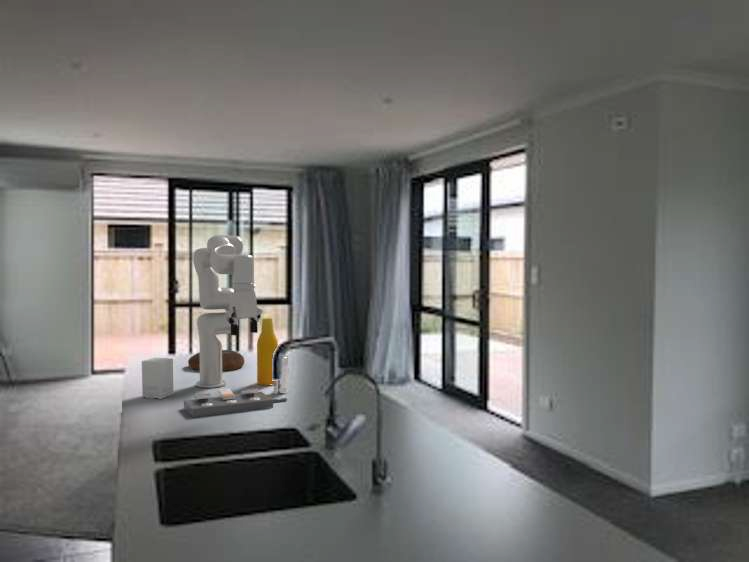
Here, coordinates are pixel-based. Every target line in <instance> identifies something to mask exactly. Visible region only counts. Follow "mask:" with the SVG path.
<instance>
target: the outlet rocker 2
mask: <svg viewBox="0 0 749 562" xmlns="http://www.w3.org/2000/svg"><path fill="white" fill-rule="evenodd" d="M255 392H259V390H258V388H257V387H256V388H249V389H248V388H247V389H244V390H241V391H240V393H241V394H246V393H255Z"/></svg>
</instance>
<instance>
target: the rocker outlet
mask: <svg viewBox="0 0 749 562" xmlns="http://www.w3.org/2000/svg"><path fill="white" fill-rule="evenodd" d="M211 397H212V394H211V393H203V394H197V395H195V396H194V399H202V398H211Z"/></svg>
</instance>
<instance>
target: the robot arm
mask: <svg viewBox="0 0 749 562" xmlns="http://www.w3.org/2000/svg"><path fill="white" fill-rule="evenodd" d="M243 243H244V242H243V241H242V239H241V237H240V236H238V235H224V234H223V235H217V234H216V235H213V236H211V237H209V239H208V240H207V243H206V247H201V248H200V247H199V248H197V249H195V250H194V252H193V255H192V256H193V257H192V260H193V267H194V269H195V272H196V274H197V275H196V276H197V278H198V280H197V281H198V293H199V294H198V296H199V306H200V307H201V309H203V310H206V311H208V310H209V311H211V310H214V311H215V310H216V311H217V310H225V311H224V312H206V313H202V314H200V315H199V316H198V317H197V320H196V326H197V331H198V339H199V340H198V343H199V352H200V371H199V380H198V381H197V382H195V383H196V384H195V385H196V387H198V388H202V389H203V388H204V389H205V388H206V389H211V388H212V389H214V388H220V387H221V388H222V387H224V386H226V384H227V381H226V380H225V379H223V372H222V350H223V344H222V342H221V340H220V339H219V338H218V337H217V336H219V335H229V334H230V335H231V336H238V335H239V320H244V319H250V324H249V325H250V333H253V334H254V333H255V334H256V333H257V334H258V331H259V330H258V323H259V322H260V319H261V315H262V313H263V310H262V309H261V308H259V307H258V302H257V295H256V292H255V288H256V284H255V273H254V272H255V267H254V264H255V263H254V261H255V259H254V257H253V256H252V254H251V255H250V254H243V251H244V244H243ZM218 274H219V275H232V276H233V285H232V286H233V288H232V287H220V284H219V283H220V282H219V281H220V280H219V275H218Z"/></svg>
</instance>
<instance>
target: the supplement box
mask: <svg viewBox="0 0 749 562" xmlns="http://www.w3.org/2000/svg"><path fill="white" fill-rule="evenodd" d="M141 383H142V384H141V388H142V389H141V390H142V391H141V393H142V395H141V396H142V397H141V398H143V397H145V398H144V399H154V398H158V399H157V400H162V399H164V398H167V396H168V397H171V396H173V395H174V360H173V358H166V357H152V358H151V357H150V358H148V359H144V360H142V361H141ZM172 394H173V395H172Z"/></svg>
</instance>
